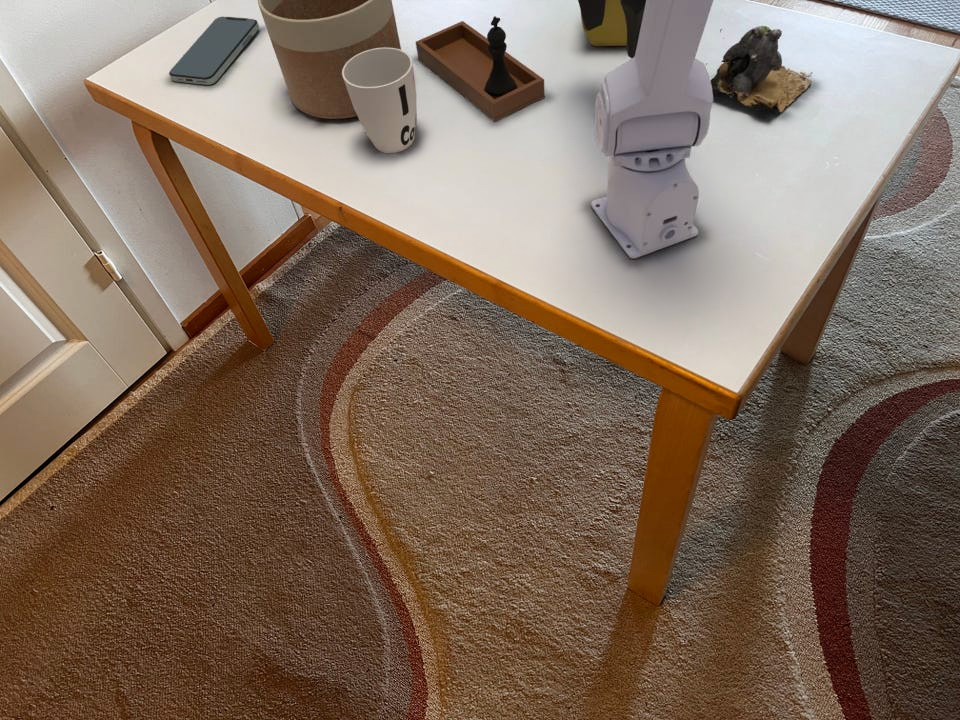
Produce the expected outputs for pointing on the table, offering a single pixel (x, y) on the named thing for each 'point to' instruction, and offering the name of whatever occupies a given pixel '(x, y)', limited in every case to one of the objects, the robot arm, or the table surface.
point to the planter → (325, 46)
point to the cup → (383, 96)
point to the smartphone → (214, 50)
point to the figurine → (759, 72)
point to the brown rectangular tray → (477, 70)
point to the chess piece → (498, 63)
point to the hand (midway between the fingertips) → (614, 40)
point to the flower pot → (609, 27)
